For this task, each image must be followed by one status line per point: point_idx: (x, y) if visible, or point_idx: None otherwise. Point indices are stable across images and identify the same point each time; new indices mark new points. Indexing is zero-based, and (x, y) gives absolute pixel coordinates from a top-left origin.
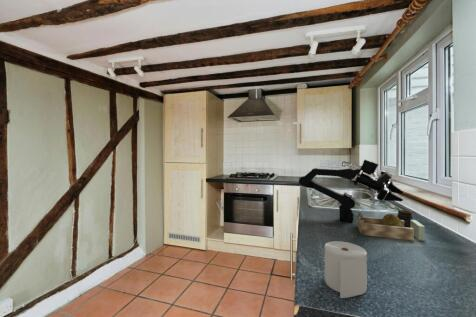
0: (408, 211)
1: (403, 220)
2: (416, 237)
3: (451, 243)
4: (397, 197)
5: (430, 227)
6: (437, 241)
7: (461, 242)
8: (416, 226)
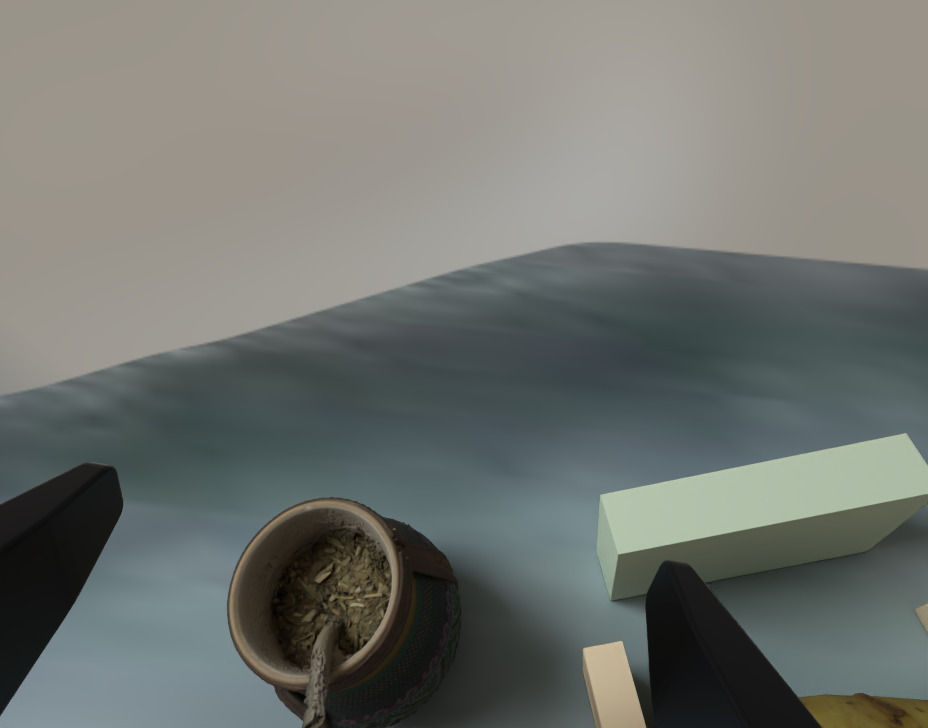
0: (278, 533)
1: (596, 649)
2: (804, 562)
3: (734, 334)
4: (795, 719)
5: (305, 409)
6: (762, 410)
7: (648, 282)
8: (844, 519)
